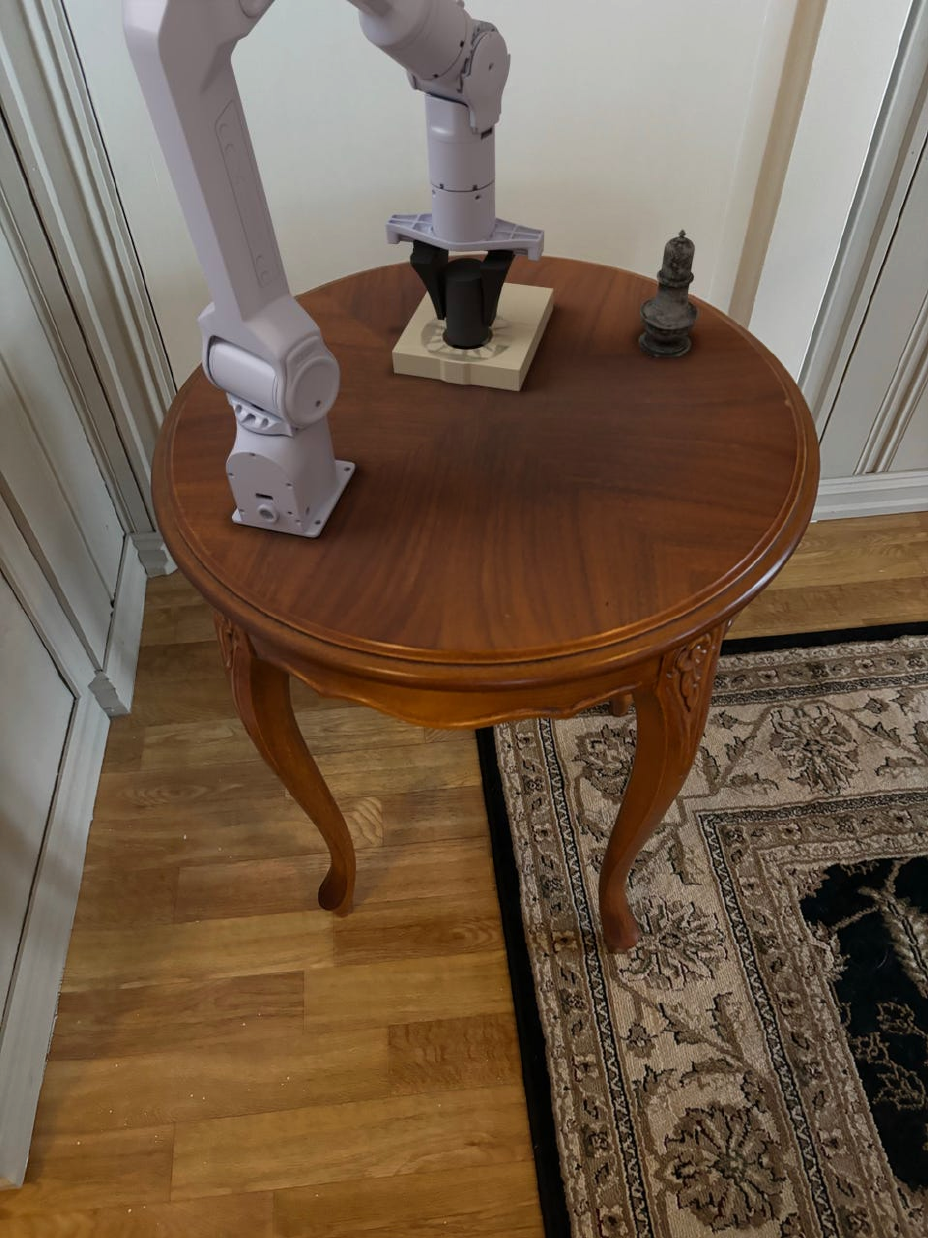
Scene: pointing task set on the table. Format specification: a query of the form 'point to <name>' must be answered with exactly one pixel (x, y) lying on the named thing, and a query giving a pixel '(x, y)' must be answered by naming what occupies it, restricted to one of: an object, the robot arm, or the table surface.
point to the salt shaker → (671, 303)
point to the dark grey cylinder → (464, 302)
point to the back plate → (488, 365)
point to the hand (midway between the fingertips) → (467, 317)
